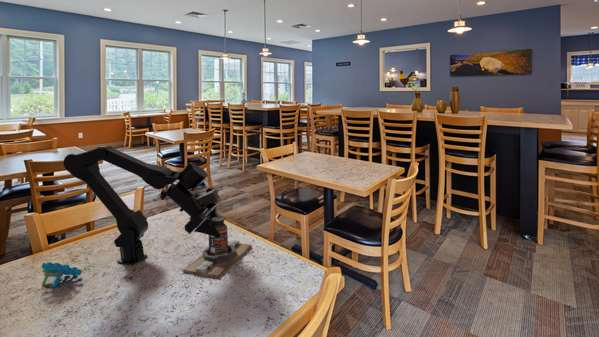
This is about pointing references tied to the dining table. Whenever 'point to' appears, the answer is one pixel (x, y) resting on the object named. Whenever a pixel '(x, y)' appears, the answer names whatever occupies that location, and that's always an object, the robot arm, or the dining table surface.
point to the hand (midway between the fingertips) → (221, 232)
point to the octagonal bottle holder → (217, 260)
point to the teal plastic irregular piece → (58, 271)
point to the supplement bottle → (218, 243)
